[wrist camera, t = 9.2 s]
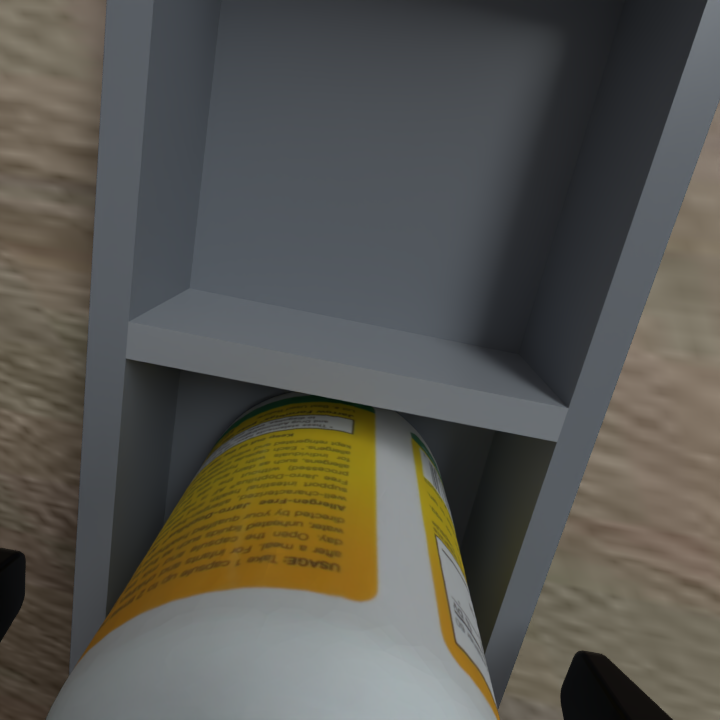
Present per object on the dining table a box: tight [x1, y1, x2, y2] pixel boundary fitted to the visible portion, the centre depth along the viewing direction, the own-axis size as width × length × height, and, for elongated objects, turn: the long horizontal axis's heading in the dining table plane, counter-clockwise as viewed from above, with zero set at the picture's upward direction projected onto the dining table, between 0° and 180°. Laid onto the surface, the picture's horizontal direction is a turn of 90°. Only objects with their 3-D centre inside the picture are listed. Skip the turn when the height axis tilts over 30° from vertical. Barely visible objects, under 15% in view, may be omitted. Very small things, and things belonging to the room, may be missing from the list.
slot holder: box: [69, 0, 720, 709], centre depth 12 cm, size 8×23×4 cm, turn 169°
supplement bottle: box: [46, 392, 500, 720], centre depth 8 cm, size 5×5×10 cm
